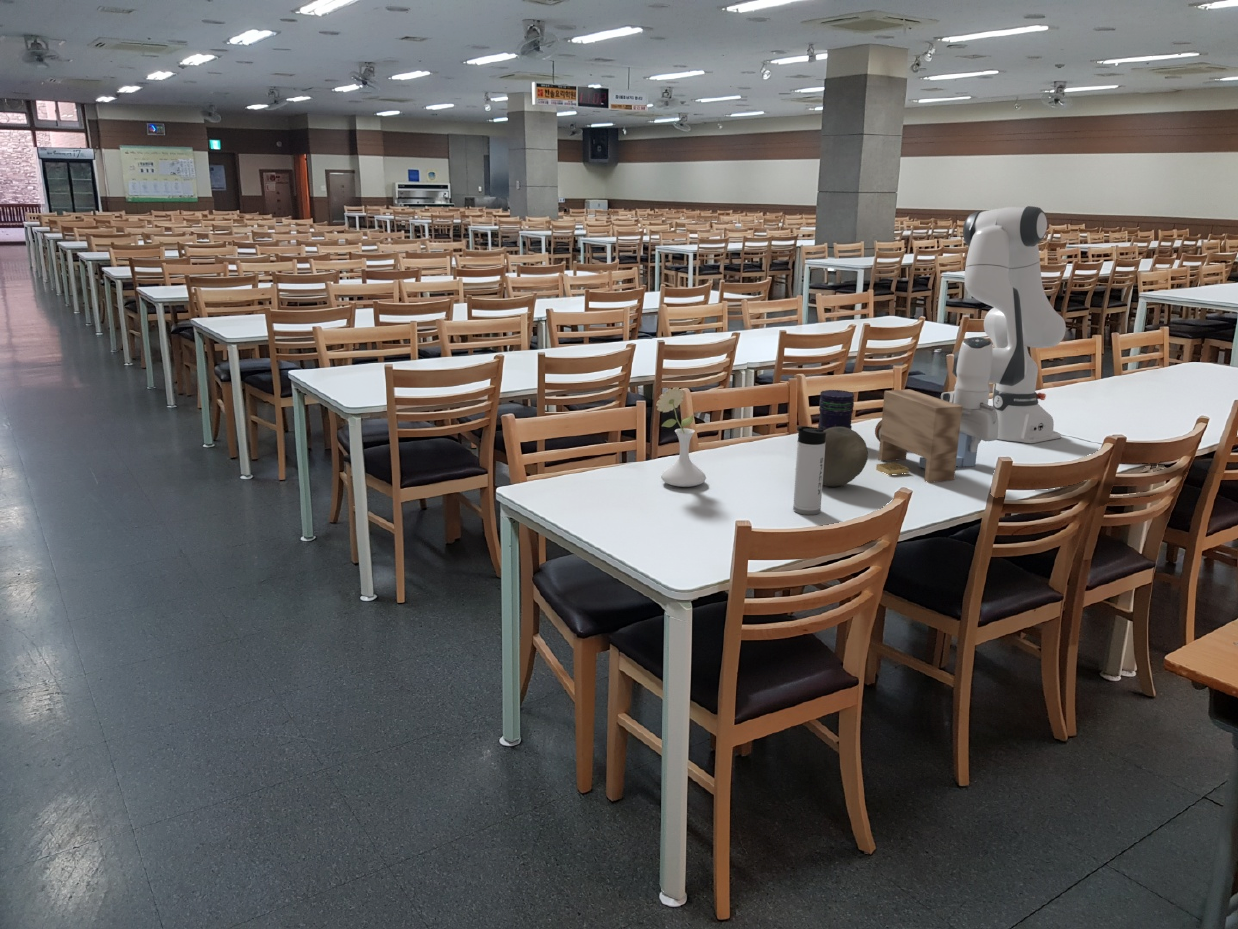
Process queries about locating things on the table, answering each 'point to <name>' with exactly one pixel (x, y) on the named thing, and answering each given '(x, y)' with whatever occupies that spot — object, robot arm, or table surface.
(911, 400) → the wooden bridge block
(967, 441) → the blue l-shaped bracket
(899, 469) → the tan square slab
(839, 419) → the storage jar
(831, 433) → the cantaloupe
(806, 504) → the travel mug
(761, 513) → the table surface
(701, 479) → the flower in vase
